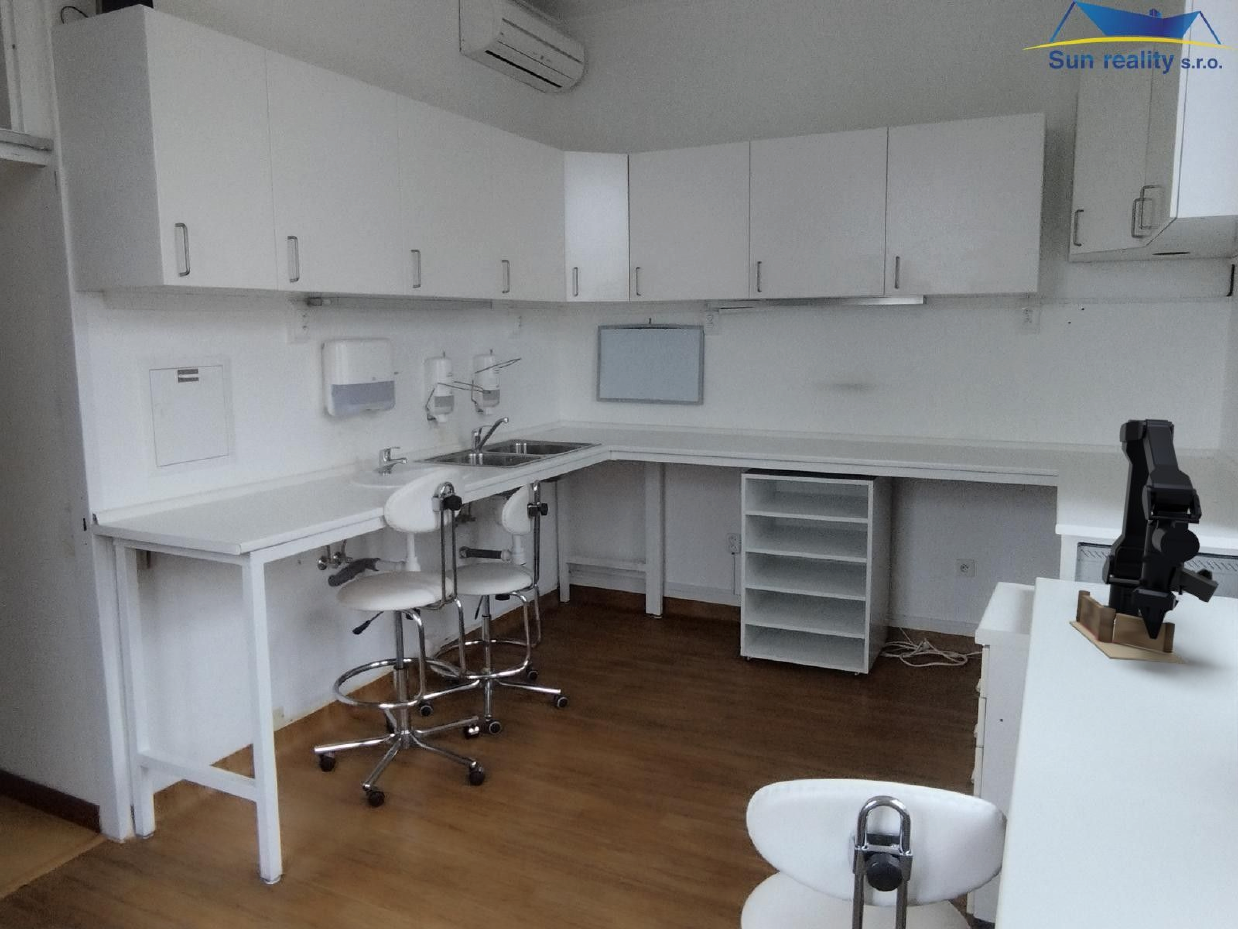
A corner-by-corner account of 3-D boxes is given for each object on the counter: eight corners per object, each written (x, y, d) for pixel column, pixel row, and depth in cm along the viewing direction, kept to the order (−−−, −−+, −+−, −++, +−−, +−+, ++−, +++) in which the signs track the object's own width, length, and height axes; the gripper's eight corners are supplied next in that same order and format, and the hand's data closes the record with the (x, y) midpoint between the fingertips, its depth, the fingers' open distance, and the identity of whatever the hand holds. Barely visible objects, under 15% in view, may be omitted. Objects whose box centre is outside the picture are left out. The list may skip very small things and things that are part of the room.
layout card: (1069, 623, 180) (1069, 621, 180) (1136, 627, 179) (1137, 625, 179) (1109, 658, 161) (1110, 656, 160) (1186, 663, 159) (1186, 661, 159)
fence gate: (1112, 641, 167) (1115, 613, 167) (1115, 639, 169) (1118, 611, 168) (1170, 654, 161) (1174, 625, 160) (1173, 652, 162) (1176, 623, 162)
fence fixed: (1073, 619, 182) (1076, 589, 181) (1086, 620, 181) (1089, 590, 181) (1100, 642, 168) (1103, 610, 167) (1114, 643, 168) (1117, 611, 167)
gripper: (1213, 567, 148) (1202, 661, 149) (1221, 552, 163) (1211, 637, 164) (1135, 556, 154) (1125, 646, 156) (1150, 542, 169) (1140, 625, 171)
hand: (1153, 639), depth 162 cm, fingers closed
